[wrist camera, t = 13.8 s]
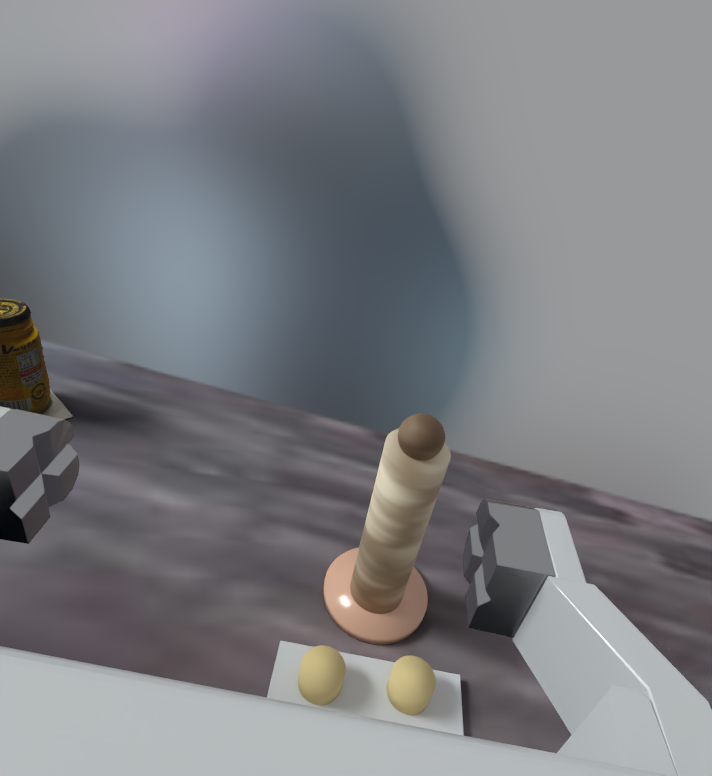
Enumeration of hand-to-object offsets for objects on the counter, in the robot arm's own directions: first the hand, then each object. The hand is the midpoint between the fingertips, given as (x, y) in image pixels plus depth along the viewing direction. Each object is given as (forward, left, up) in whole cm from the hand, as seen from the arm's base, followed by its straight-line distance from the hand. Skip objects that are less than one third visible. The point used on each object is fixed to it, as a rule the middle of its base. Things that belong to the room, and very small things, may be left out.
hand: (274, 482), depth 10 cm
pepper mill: (+6, +21, -31) cm, 38 cm away
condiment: (-35, +36, -32) cm, 60 cm away
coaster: (+6, +21, -32) cm, 39 cm away
